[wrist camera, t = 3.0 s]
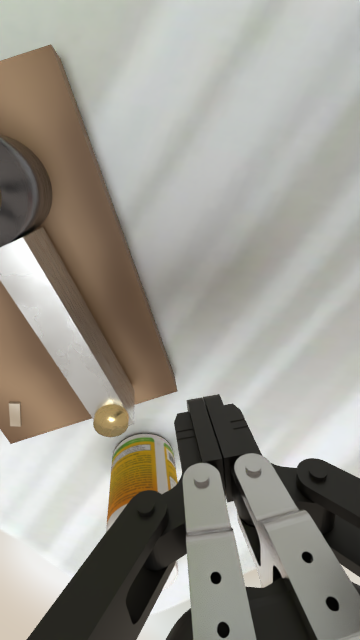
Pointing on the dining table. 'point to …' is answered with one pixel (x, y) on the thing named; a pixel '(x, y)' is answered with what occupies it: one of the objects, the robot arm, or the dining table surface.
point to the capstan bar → (55, 293)
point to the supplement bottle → (141, 475)
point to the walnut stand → (70, 258)
